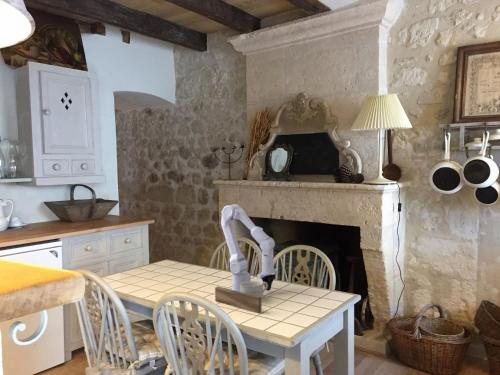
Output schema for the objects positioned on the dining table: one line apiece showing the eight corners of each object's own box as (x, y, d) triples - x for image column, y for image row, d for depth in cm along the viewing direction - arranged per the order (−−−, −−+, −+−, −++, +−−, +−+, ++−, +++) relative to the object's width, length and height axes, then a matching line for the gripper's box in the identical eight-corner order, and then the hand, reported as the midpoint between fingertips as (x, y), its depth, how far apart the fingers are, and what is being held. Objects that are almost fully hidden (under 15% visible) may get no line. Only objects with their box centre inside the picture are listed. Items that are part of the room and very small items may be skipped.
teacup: (243, 304, 181) (243, 287, 180) (237, 297, 191) (237, 281, 191) (272, 301, 185) (272, 284, 184) (265, 294, 195) (264, 278, 195)
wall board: (218, 300, 187) (218, 286, 187) (261, 312, 171) (261, 297, 171) (215, 301, 186) (215, 287, 186) (258, 313, 169) (258, 298, 169)
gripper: (265, 267, 187) (265, 295, 188) (282, 261, 198) (283, 288, 199) (253, 264, 192) (253, 292, 192) (271, 259, 203) (271, 285, 203)
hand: (267, 290), depth 196 cm, fingers closed
